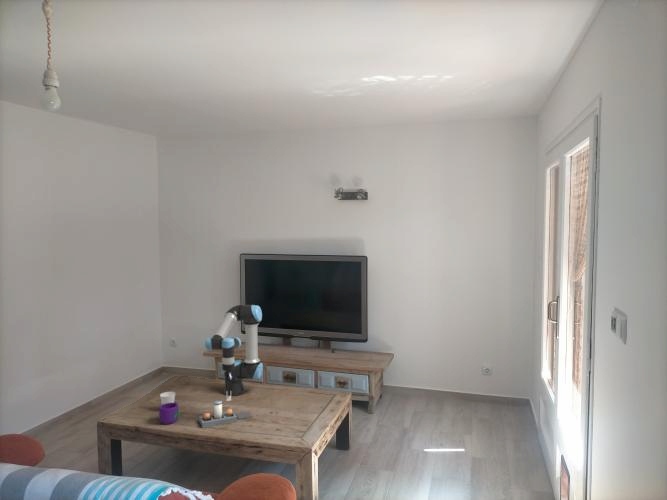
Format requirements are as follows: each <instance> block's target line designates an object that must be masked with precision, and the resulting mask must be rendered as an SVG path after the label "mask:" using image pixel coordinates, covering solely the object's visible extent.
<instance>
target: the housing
mask: <svg viewBox="0 0 667 500" xmlns="http://www.w3.org/2000/svg"><path fill="white" fill-rule="evenodd" d="M235 414H236V413H235V412H234V411H233V410H232V415H230V416H227V415H226V411H224V412H222V418H221V419H215V420H214V413H213V414H210V419H207V420H205V419H204V415H201V416H199V417H198V418H199V420H198V421H199V424H200V425H201V427H202V429H204V428H209V427H210V428H211V427H216V426H221V425H226V424H232V423H238V418H237V416H236V415H235Z"/></svg>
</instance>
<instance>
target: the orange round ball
mask: <svg viewBox="0 0 667 500" xmlns="http://www.w3.org/2000/svg"><path fill="white" fill-rule="evenodd" d="M210 415H211V413H210V412H205V413H203V416H204V419H205V420H207V419H210Z"/></svg>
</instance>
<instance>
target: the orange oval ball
mask: <svg viewBox="0 0 667 500" xmlns="http://www.w3.org/2000/svg"><path fill="white" fill-rule="evenodd" d="M232 411H233V409H232V408H227V409H226V410H225V412H226V415H227V416H230V415H232Z"/></svg>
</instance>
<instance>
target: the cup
mask: <svg viewBox="0 0 667 500" xmlns="http://www.w3.org/2000/svg"><path fill="white" fill-rule="evenodd" d="M159 396H160V402H161V405H162V404H166V403H174V402H175V399H176V398H175V397H176V392H174V391H165V392H161V393H160V394H159Z"/></svg>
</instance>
